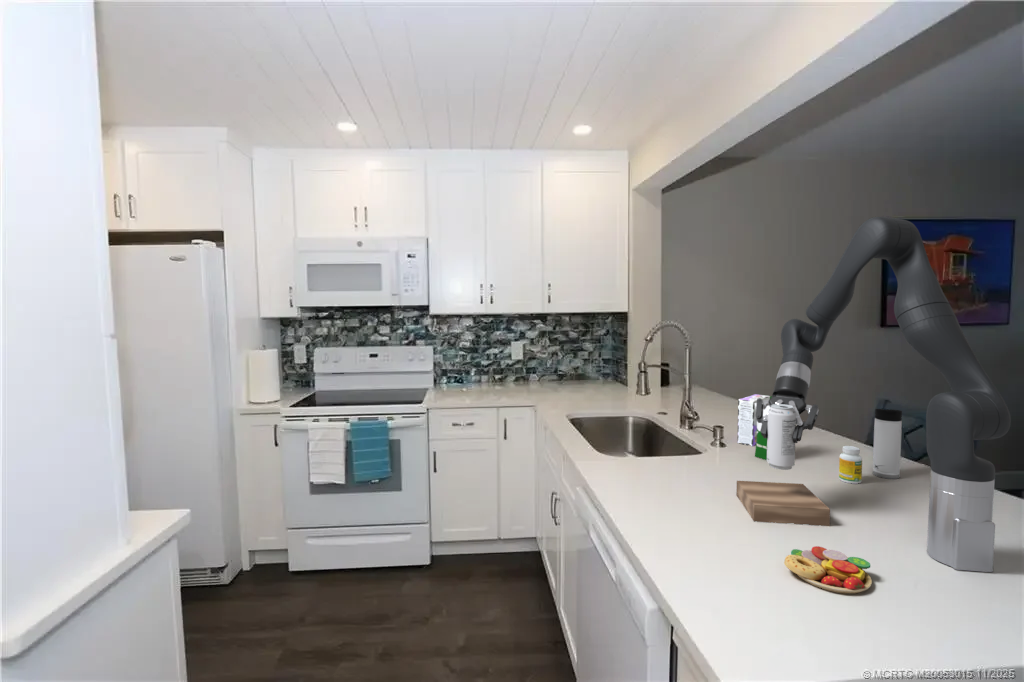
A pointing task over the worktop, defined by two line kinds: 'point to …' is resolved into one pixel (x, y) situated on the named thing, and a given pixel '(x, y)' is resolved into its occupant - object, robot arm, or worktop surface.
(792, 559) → the toy food set
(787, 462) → the energy drink can
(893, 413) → the travel mug
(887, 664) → the worktop surface
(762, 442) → the milk carton
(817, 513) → the walnut base
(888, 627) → the worktop surface
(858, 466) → the supplement bottle
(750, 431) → the candy box
